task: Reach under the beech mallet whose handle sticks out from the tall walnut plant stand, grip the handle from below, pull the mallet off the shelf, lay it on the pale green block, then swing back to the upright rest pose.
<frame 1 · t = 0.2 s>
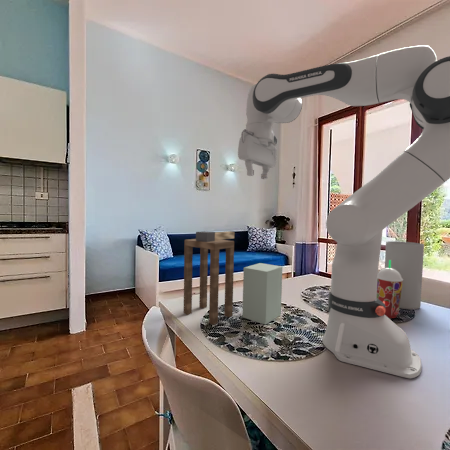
hand: (257, 177, 88), 48 cm above the table, tool pointing down, fingers open, 8 cm apart
cylinder vase: (401, 305, 105), on the table
plant stand: (207, 314, 90), on the table
mallet: (217, 239, 93), point 26 cm above the table, touching plant stand
pale green block: (262, 315, 90), on the table
smoothie: (387, 315, 93), on the table
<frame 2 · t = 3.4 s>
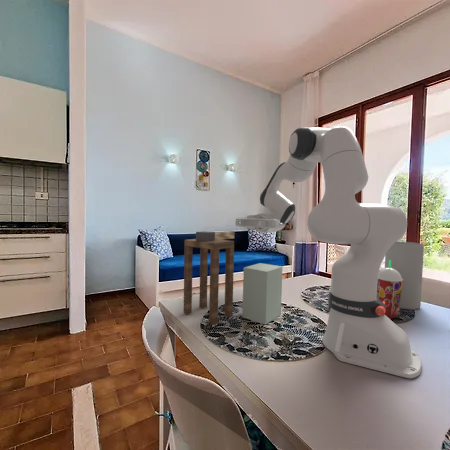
hand: (247, 223, 108), 32 cm above the table, tool horizontal, fingers open, 8 cm apart
nothing on the table moved.
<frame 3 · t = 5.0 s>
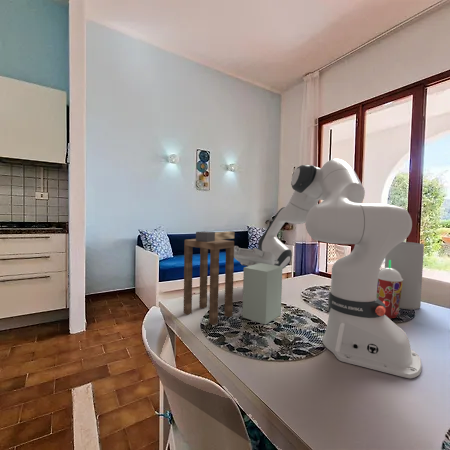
hand: (244, 248, 107), 21 cm above the table, tool pointing upward, fingers open, 8 cm apart
nothing on the table moved.
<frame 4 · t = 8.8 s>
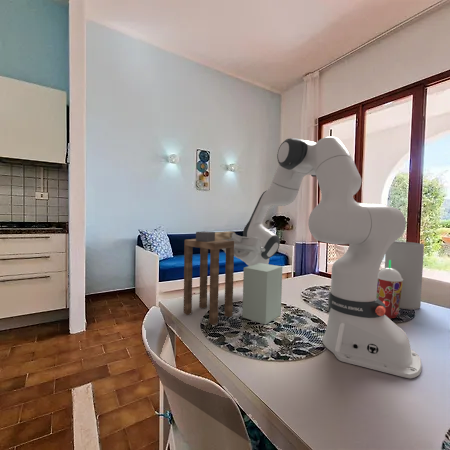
hand: (227, 234, 97), 28 cm above the table, tool pointing upward, fingers closed on mallet, 2 cm apart
mallet: (217, 239, 93), point 26 cm above the table, touching gripper, plant stand
everything else where it was.
when the fingers open (20 cm above the table, at t = 15.7 s): mallet drops 2 cm, resting on pale green block.
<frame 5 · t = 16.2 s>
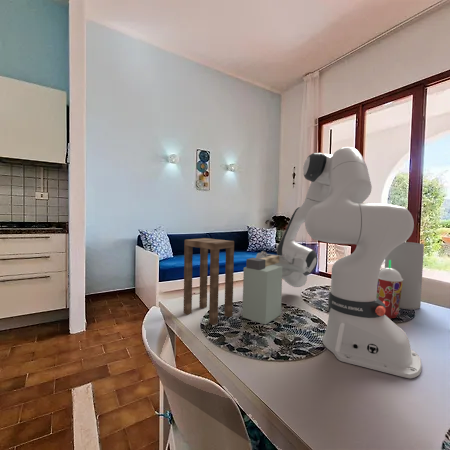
hand: (272, 254, 97), 20 cm above the table, tool pointing upward, fingers open, 7 cm apart
mallet: (265, 265, 92), point 17 cm above the table, touching pale green block
everything else where it was.
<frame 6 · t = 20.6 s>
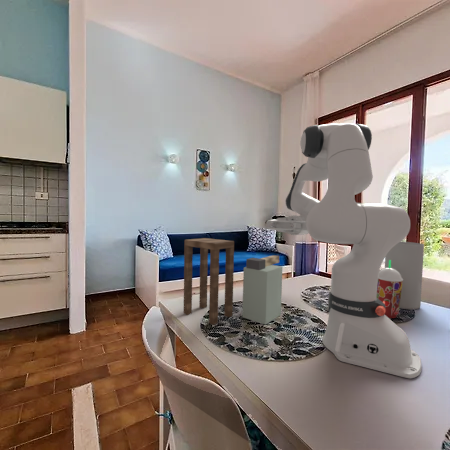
hand: (281, 225, 105), 31 cm above the table, tool horizontal, fingers open, 8 cm apart
nothing on the table moved.
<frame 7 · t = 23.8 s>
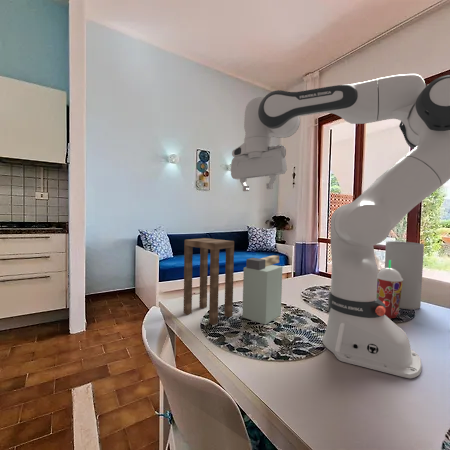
hand: (257, 190, 88), 44 cm above the table, tool pointing down, fingers open, 8 cm apart
nothing on the table moved.
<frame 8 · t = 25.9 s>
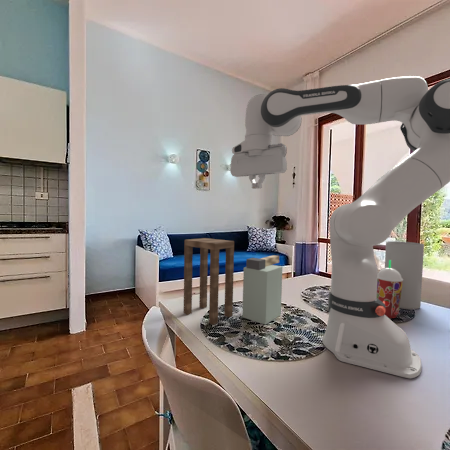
hand: (256, 188, 87), 44 cm above the table, tool pointing down, fingers closed
nothing on the table moved.
at the end: mallet inside the target area on the pale green block (1.2 cm from its centre), point 17.2 cm above the pale green block's base; the gripper is holding nothing; mallet tilted 0° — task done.
